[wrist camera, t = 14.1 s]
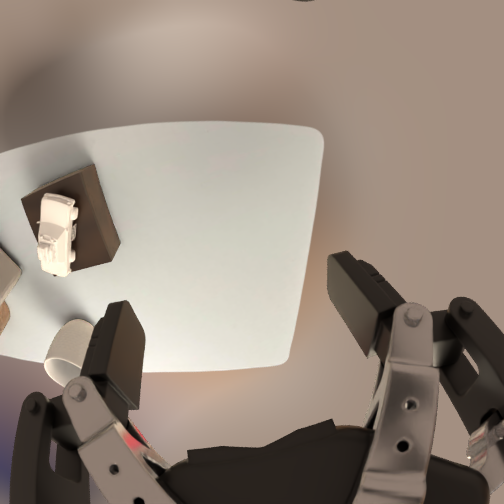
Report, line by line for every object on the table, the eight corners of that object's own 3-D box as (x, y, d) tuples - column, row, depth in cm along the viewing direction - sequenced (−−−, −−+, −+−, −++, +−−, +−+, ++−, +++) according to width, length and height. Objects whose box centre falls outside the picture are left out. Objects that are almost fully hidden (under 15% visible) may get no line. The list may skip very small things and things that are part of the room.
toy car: (83, 195, 31) (62, 212, 25) (77, 268, 35) (62, 294, 30) (49, 186, 29) (24, 203, 23) (47, 259, 34) (28, 283, 28)
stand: (38, 187, 33) (20, 199, 28) (94, 163, 34) (79, 172, 29) (66, 258, 40) (54, 276, 35) (120, 243, 41) (111, 261, 36)
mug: (115, 358, 54) (107, 404, 43) (75, 355, 52) (63, 397, 40) (99, 311, 47) (83, 361, 36) (55, 308, 45) (34, 354, 33)
